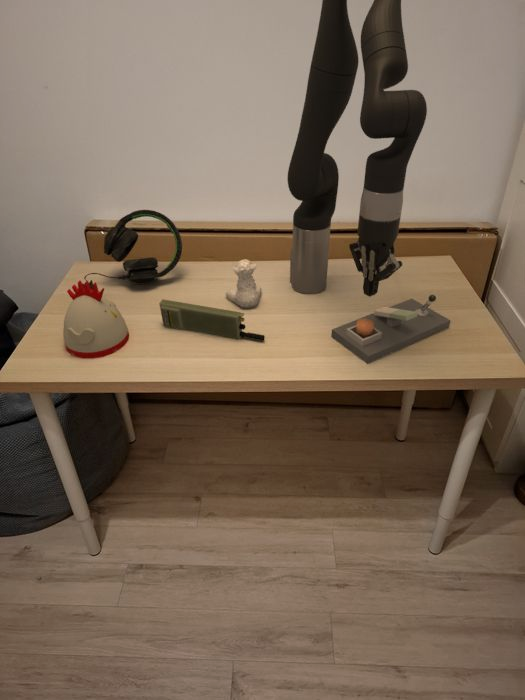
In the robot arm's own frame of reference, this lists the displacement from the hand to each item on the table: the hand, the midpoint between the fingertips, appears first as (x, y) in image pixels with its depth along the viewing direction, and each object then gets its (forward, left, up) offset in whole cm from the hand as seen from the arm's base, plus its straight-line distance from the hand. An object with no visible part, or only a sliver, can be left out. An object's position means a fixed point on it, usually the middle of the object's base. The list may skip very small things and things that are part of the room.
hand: (369, 294), depth 99 cm
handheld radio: (-22, -26, -13) cm, 37 cm away
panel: (0, +8, -13) cm, 15 cm away
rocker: (0, +9, -8) cm, 12 cm away
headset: (-55, -33, -13) cm, 65 cm away
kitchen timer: (-34, -49, -13) cm, 61 cm away
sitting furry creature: (-30, -12, -13) cm, 35 cm away
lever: (0, +18, -10) cm, 21 cm away
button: (0, 0, -9) cm, 9 cm away
